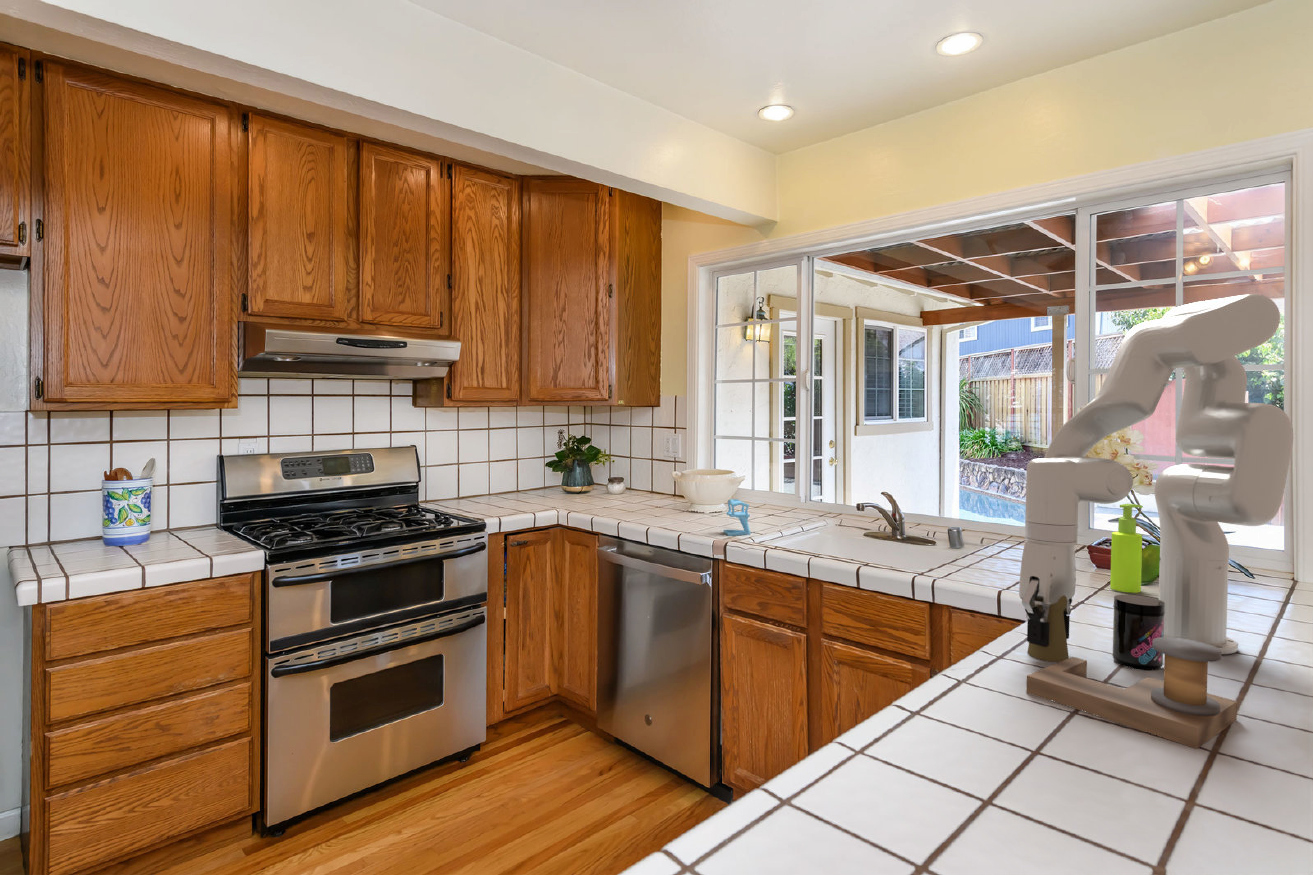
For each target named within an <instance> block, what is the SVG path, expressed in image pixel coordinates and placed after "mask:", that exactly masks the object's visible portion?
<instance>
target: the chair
mask: <svg viewBox="0 0 1313 875" xmlns="http://www.w3.org/2000/svg"><path fill="white" fill-rule="evenodd" d="M740 505H741V511H737V512H735V507H737V506H740ZM727 506H728V511H726V515H727V516H729V517H730V518H736V519H737V518H738V520H739V521H740V524H741V525H742V528H743V529H723V533H724V534H725V535H727V536H728V537H732V536H734V537H735V536H749V535H751V530H750V526H749V522H748V520H749V518H750V517H751V516H750V514H749V512H748V510H749V506H750V503H746V502H743V500H739V499H737V498H736V499H735V498H734V499H732V498H730V499H729V500H728V501H727ZM745 507H746V508H745Z"/></svg>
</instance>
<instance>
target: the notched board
mask: <svg viewBox="0 0 1313 875" xmlns="http://www.w3.org/2000/svg"><path fill="white" fill-rule="evenodd" d="M1152 647H1153V648H1154V649H1155V650H1156V651H1158V652H1160V653H1163V655H1164V656H1163V666H1164V667H1163V671H1164V672H1163V680H1161V679H1157V678H1153V677H1149V676H1148V677H1146V678H1143V679H1141V680H1140V681H1137V682H1136V683H1133V684H1132V685H1130V686H1128V687H1126V688H1121V687H1117V686H1113V685H1111V684H1106V683H1103V682H1100V681H1097V680H1093V679H1091V678H1090V679H1089V678H1087V674H1088V672H1087V670H1088V667H1087V666H1088V665H1087V664H1088V661H1087V659H1082V658H1079V657H1076V656H1071V657H1069V658H1068V659H1066V660H1063V661H1061V662H1055V663H1054V664H1051V665H1049V666H1047V667H1044V668H1042V669H1041V668H1040V670H1036V671H1034V672H1032V673H1029V674H1027V675H1026V685H1025V686H1026V690H1025V693H1026V694H1029V695H1032V696H1035V697H1038V696H1039V698H1041V697H1042V698H1041V699H1044V698H1045V699H1044V700H1048V701H1050V700H1053V701H1055V702H1054V703H1056V702H1057V703H1056V704H1059V703H1061V704H1060V705H1062V704H1063V705H1062V706H1065V705H1068V706H1071V707H1073V708H1072V709H1074V708H1075V709H1074V710H1077V709H1078V711H1080V710H1083V711H1086V712H1085V713H1087V712H1088V713H1087V714H1090V713H1091V714H1090V715H1093V714H1095V715H1094V716H1096V715H1098V716H1097V717H1099V716H1100V717H1099V718H1102V717H1103V718H1102V719H1104V720H1109V721H1111V722H1114V723H1117V724H1120V723H1121V724H1120V725H1124V726H1127V727H1129V728H1133V729H1135V730H1139V731H1142V732H1144V733H1147V732H1149V733H1148V734H1150V733H1151V735H1154V736H1156V735H1157V737H1160V738H1162V737H1163V738H1162V739H1166V740H1169V741H1171V742H1174V743H1178V744H1181V745H1184V746H1186V747H1191V748H1192V749H1195V750H1197V749H1199V748H1201V747H1202V746H1203V745H1205V744H1206V743H1207V742H1209V741H1211V739H1213V738H1214V737H1216V736H1217V735H1218V734H1220V733H1221V732H1223V731H1224V730H1225V729H1227V728H1228V727H1230V725H1232V724H1233V723H1235V722H1236V721H1237V719H1238V718H1237V717H1238V716H1237V715H1238V713H1237V711H1238V701H1237V700H1235V699H1231V698H1230V699H1229V698H1226V697H1224V696H1223V697H1222V696H1219V695H1214V694H1212V693H1209V692H1208V671H1209V670H1208V668H1209V663H1210V662H1211V663H1213V662H1219V661H1221V660H1222V655H1223V654H1222V652H1221V650H1220V649H1218V648H1216V647H1214V646H1212V645H1209V644H1205V643H1202V642H1198V641H1193V640H1188V639H1181V638H1171V637H1160V638H1155V639H1153V646H1152ZM1053 701H1052V702H1053ZM1068 706H1067V707H1068ZM1071 707H1070V708H1071ZM1083 711H1082V712H1083Z"/></svg>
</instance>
